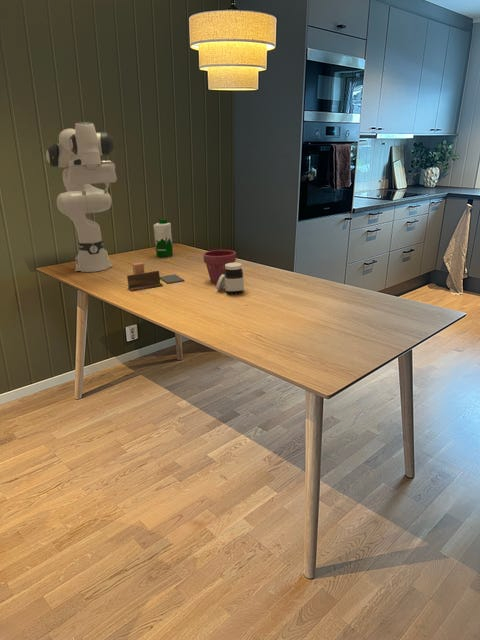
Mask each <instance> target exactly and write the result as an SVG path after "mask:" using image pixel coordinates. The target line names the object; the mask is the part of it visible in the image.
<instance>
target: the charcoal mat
mask: <svg viewBox="0 0 480 640" xmlns="http://www.w3.org/2000/svg"><path fill="white" fill-rule="evenodd" d="M160 281H162V282H163V283H164V282H165V284H167V285H171V284H176V283H180V282H181V283H182V282H185V279H184V278H183V277H180V276H179V275H177V274H176V273H175V274H169V275H163V276H160Z"/></svg>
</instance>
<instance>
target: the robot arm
mask: <svg viewBox="0 0 480 640" xmlns="http://www.w3.org/2000/svg"><path fill="white" fill-rule="evenodd" d="M113 151H114V139H113V137H112V136H111V135H110V134H109V133H107V132H106V131H102V132H97V131H96V126H95V124H94V123H93V122H91V121H77V122H76V123H75V124H74V128H64V129H63V130H61V132H60V133H59V135H58V143H55V142H53V143H52V144H51V145H49V146H48V147H47V148H46V152H45V153H46V154H45V159H46V160H47V163H48V164H49V166H50V167H52V168H56V169H58V168H64V169H63V171H62V182H63V186H64V187H65V190H66V191H64V192H61V193H59V194H58V196H57V198H56V206H57V209H58V210H59V212H60V213H61V214H63V215H65V216H66V217H67V218H69V219H70V221H72V223H73V225H74V226H75V229H76V233H77V238H78V243H77V244H78V245H77V246H78V254H77V255H76V256H75V257H74V258H75V261H76V264H75V268H74V269H75V272H76V271H81V272H82V273H83V272H84V273H94V272H100V271H104V270H108V269H109V268H111V267H114V264H113V263H111V262H110V259H109V255H108V251H107V250H106V249H105V247H104V241H103V239H102V233H101V227H100V224H99V223H98V222H96V221H94V220H92V219H89V218H87V215H86V214H94V213H101V212H105V211H108V210H109V209H110V208H111V206H112V202H113V200H112V196H111V195H110V193H109V192H108V191H109V187H110V183H116V182H117V180H118V178H117V174H116V164H115V162H114V161H111V160H101V159H102V158H101V156H103V157H105V156H109V155H111V154H112V153H113ZM94 184H104V186H105V189H101V188H98V187H96V186H93V185H94Z"/></svg>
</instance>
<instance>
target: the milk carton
mask: <svg viewBox="0 0 480 640" xmlns="http://www.w3.org/2000/svg"><path fill="white" fill-rule="evenodd" d="M152 227H153V232H154V233H153V234H154V243H155V244H154V245H155V251H156V258H157V257H169V258H170V257H172V256H173V252H174V251H173V250H174V249H173V238H172V224H171V222H168V221H167V219H166V218H162V219H158V222H157V223H154V224H153V225H152ZM171 255H172V256H171Z"/></svg>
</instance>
